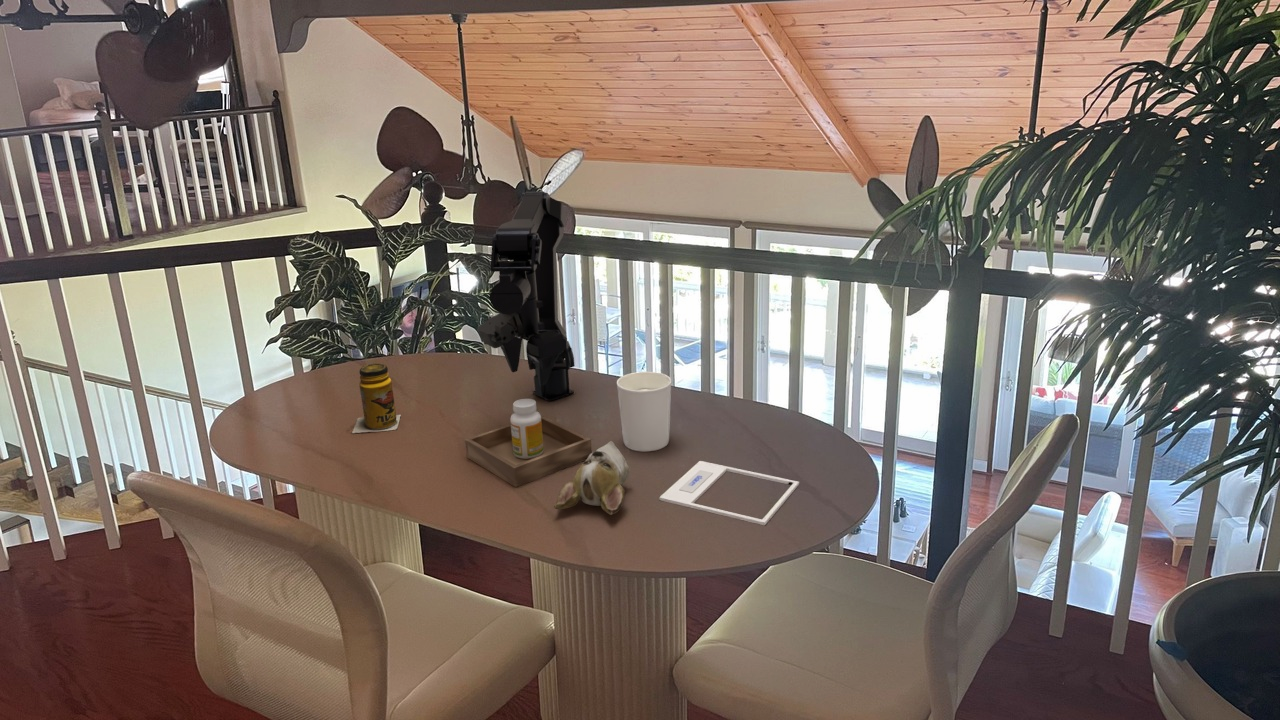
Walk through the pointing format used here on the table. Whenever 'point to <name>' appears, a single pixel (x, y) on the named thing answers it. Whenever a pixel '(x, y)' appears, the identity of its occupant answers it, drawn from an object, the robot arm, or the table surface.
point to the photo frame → (705, 477)
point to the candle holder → (645, 410)
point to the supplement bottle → (526, 429)
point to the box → (557, 454)
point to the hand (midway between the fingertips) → (528, 378)
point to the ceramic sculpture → (598, 481)
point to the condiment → (376, 400)
